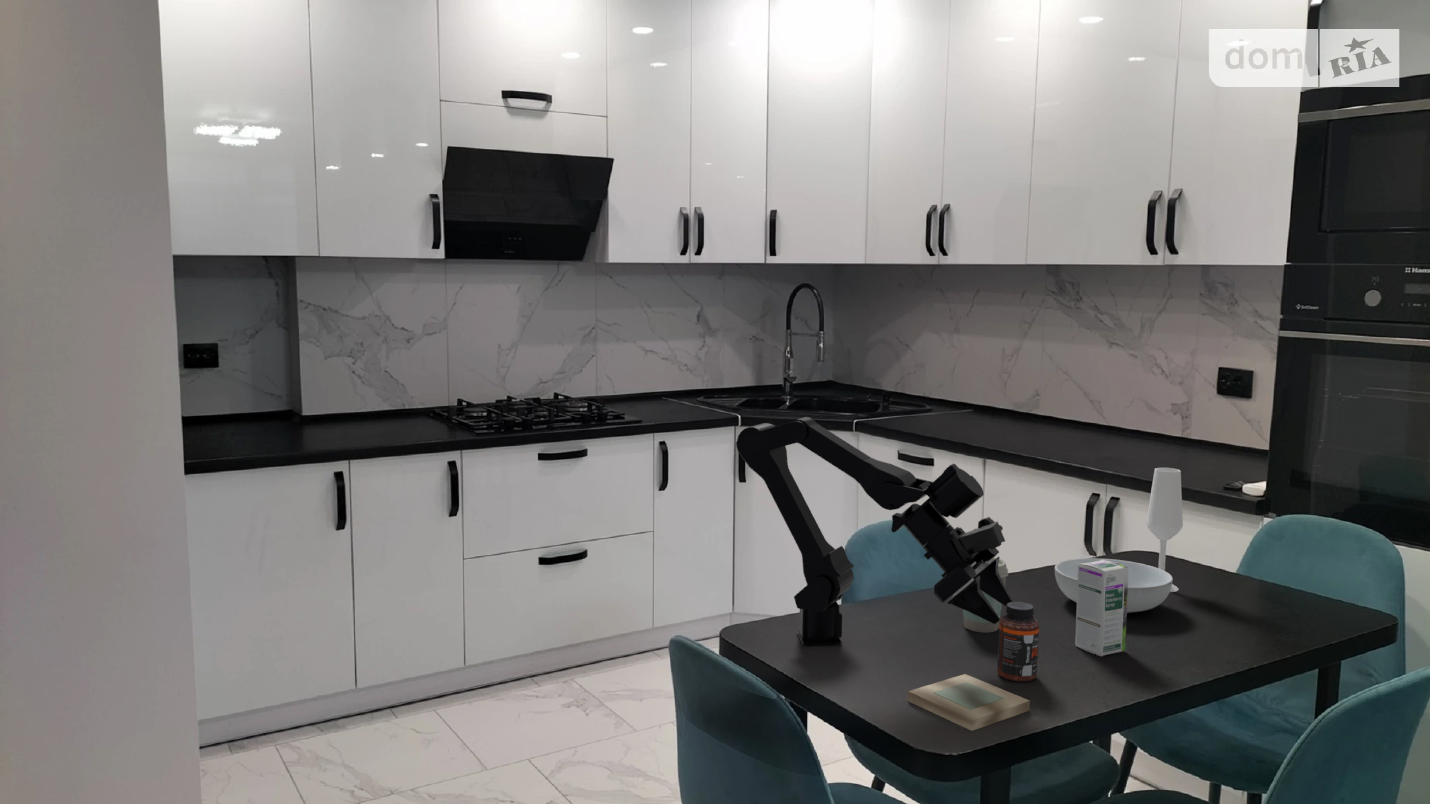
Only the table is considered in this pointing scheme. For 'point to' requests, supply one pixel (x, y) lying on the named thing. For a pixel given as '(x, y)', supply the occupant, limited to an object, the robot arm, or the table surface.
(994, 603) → the coffee cup
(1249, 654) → the table surface
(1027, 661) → the supplement bottle
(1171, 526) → the champagne flute
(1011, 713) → the board
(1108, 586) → the syrup box
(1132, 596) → the serving bowl
